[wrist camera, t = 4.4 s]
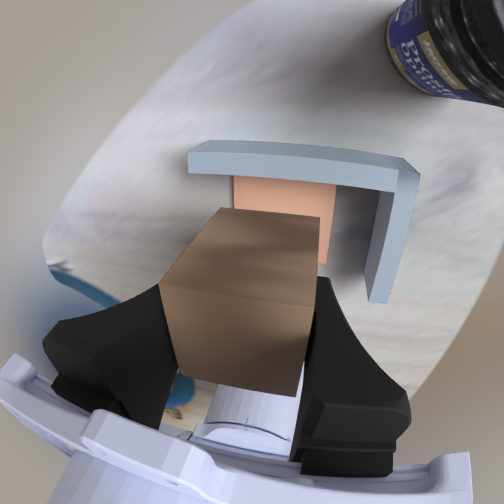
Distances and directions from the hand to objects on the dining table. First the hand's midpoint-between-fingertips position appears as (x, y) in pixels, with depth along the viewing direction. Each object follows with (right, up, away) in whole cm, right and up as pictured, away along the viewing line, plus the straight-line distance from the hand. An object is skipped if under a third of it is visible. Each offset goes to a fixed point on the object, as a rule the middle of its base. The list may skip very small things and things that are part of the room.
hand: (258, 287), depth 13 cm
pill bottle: (+10, +13, -1) cm, 17 cm away
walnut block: (0, +1, +2) cm, 2 cm away
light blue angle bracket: (+3, +4, +6) cm, 8 cm away
